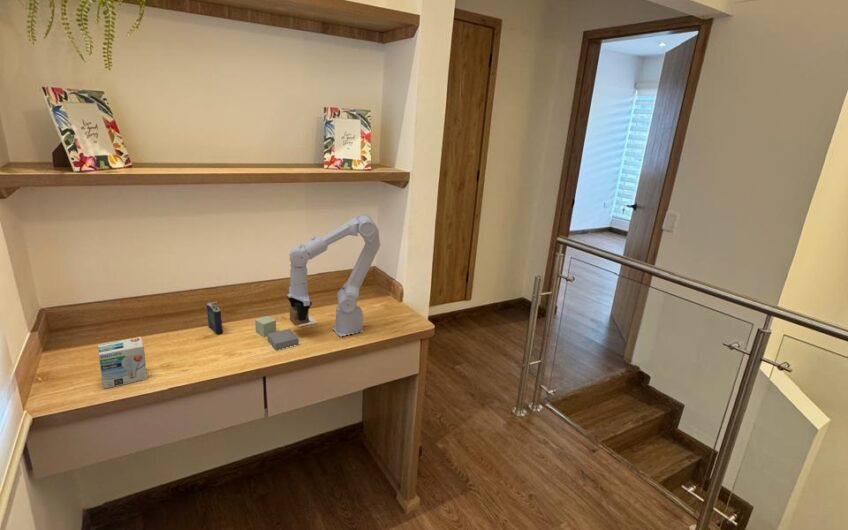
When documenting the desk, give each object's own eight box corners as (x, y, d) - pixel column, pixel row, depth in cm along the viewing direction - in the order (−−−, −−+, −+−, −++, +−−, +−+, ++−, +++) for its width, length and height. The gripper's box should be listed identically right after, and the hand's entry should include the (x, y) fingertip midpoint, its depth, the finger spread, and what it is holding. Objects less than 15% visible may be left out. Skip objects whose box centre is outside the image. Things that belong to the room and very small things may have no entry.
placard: (309, 316, 177) (309, 315, 177) (317, 323, 172) (317, 322, 172) (292, 319, 173) (292, 318, 173) (299, 327, 168) (299, 325, 168)
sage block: (268, 328, 165) (267, 315, 164) (276, 332, 162) (275, 320, 161) (255, 332, 161) (255, 319, 160) (263, 337, 159) (263, 324, 157)
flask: (207, 325, 163) (205, 298, 160) (215, 323, 165) (213, 296, 162) (216, 335, 157) (214, 307, 153) (225, 333, 159) (223, 305, 155)
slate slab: (289, 336, 161) (289, 328, 160) (298, 346, 155) (298, 338, 154) (267, 341, 157) (267, 333, 156) (275, 351, 151) (275, 343, 150)
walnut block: (303, 317, 165) (303, 304, 163) (308, 322, 161) (308, 309, 160) (289, 320, 162) (289, 307, 161) (295, 325, 158) (294, 312, 157)
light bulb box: (103, 389, 124) (97, 355, 120) (102, 377, 129) (96, 344, 125) (148, 379, 130) (144, 346, 127) (145, 368, 135) (141, 336, 132)
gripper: (280, 276, 160) (281, 311, 164) (295, 290, 149) (296, 327, 153) (299, 273, 164) (299, 307, 168) (315, 287, 153) (315, 323, 158)
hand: (299, 317), depth 161 cm, fingers closed on walnut block, 5 cm apart
